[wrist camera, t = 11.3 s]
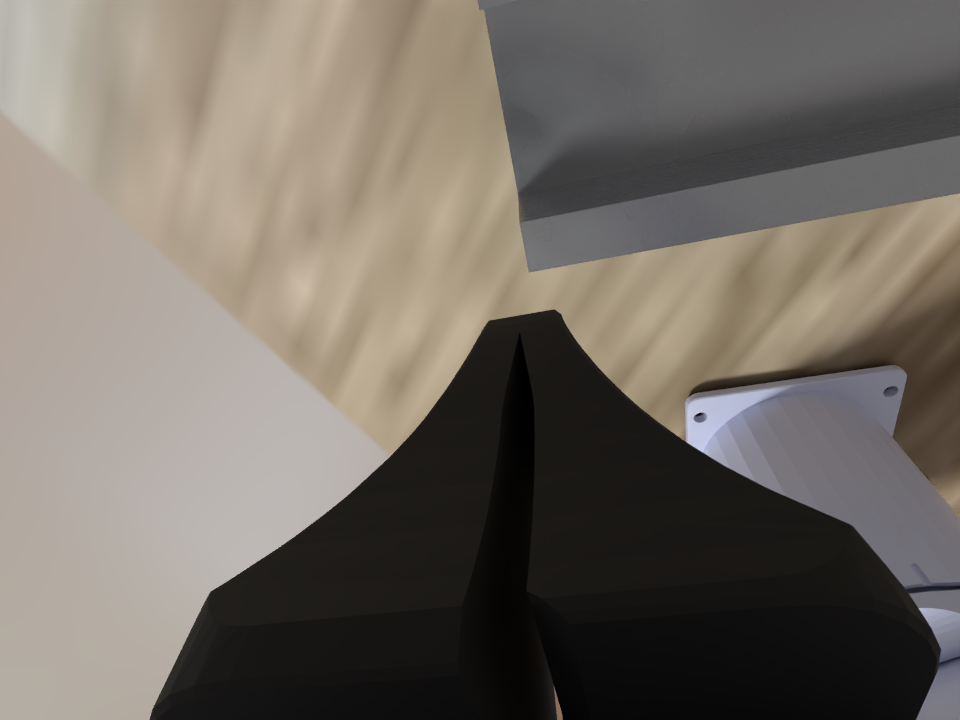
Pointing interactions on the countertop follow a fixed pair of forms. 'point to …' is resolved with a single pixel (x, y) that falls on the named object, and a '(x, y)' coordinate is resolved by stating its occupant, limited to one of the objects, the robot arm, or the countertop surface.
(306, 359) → the countertop surface
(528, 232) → the rail
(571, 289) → the countertop surface
